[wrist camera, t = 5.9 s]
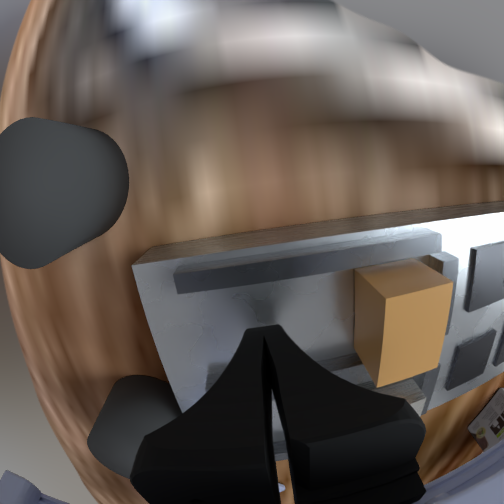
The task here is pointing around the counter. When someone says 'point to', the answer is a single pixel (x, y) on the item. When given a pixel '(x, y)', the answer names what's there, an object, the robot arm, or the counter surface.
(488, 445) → the coffee box
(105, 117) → the counter surface
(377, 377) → the toggle
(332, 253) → the power strip
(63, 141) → the pair of grey cylinders
